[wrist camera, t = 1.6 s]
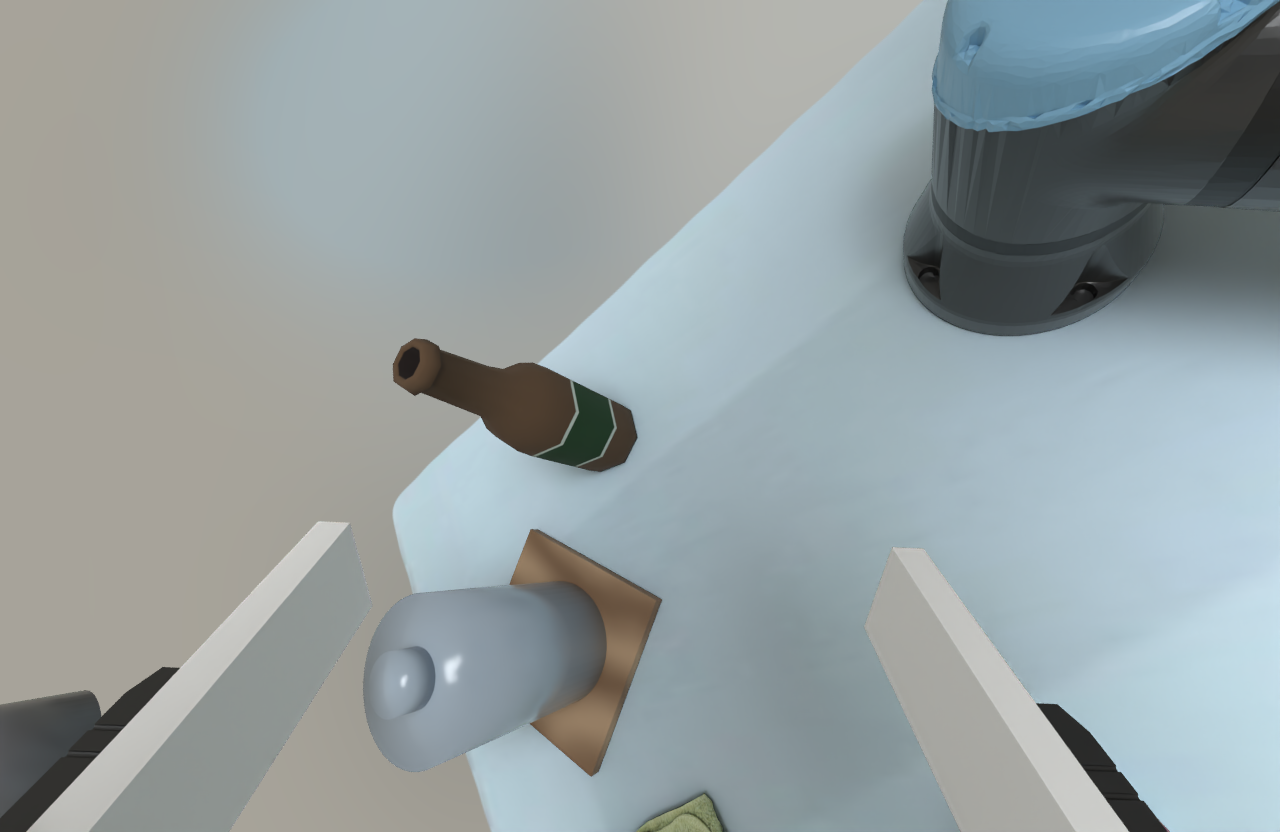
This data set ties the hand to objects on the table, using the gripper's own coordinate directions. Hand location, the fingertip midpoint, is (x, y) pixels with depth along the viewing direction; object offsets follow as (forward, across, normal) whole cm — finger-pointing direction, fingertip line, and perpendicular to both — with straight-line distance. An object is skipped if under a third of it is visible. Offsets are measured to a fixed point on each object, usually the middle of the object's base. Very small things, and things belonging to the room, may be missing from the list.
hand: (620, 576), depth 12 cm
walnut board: (+24, -6, -32) cm, 41 cm away
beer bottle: (+36, -3, -16) cm, 40 cm away
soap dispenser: (+24, -6, -32) cm, 40 cm away
